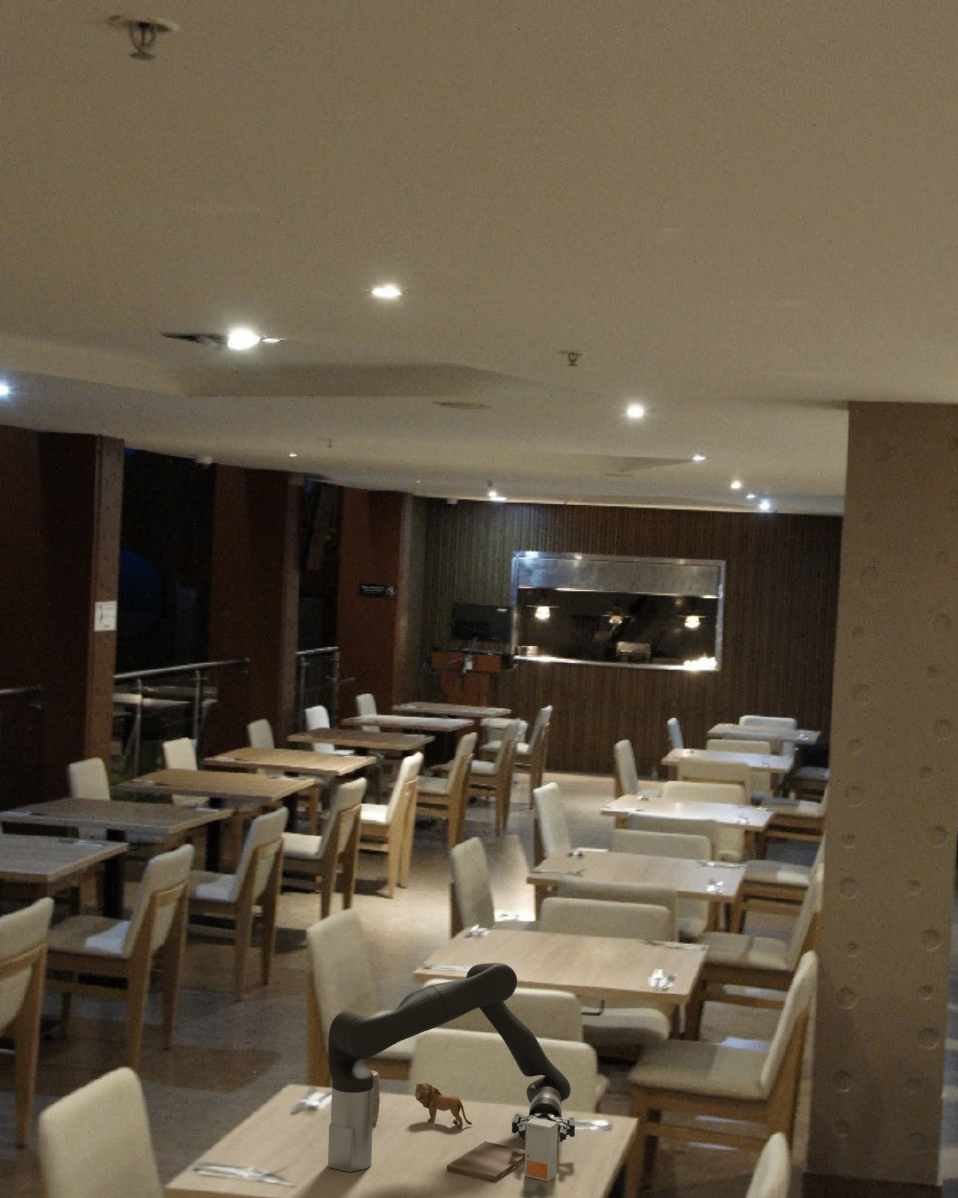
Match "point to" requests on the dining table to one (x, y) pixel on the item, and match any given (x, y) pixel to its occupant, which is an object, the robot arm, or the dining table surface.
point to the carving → (376, 1096)
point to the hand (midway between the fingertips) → (542, 1136)
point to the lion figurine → (439, 1102)
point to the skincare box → (541, 1149)
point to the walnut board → (488, 1161)
